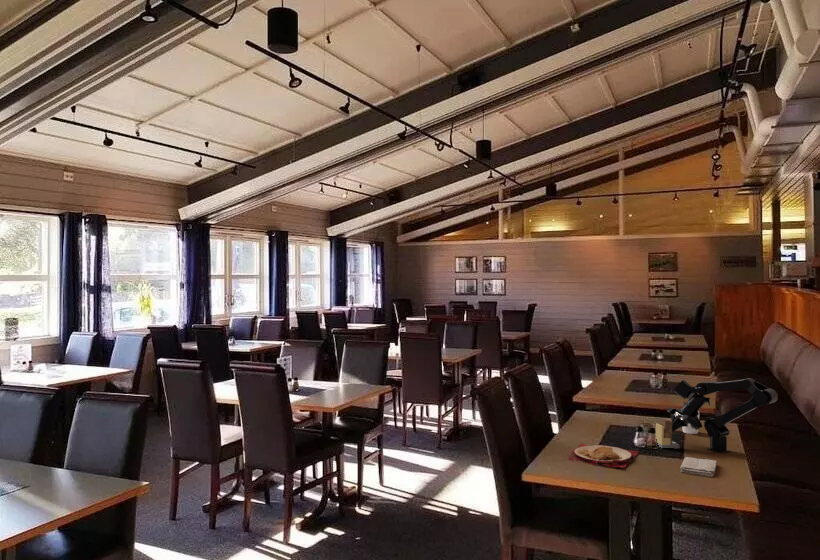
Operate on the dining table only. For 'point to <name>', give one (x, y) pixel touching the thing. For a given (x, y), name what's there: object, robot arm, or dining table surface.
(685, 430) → the white cup
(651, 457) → the dining table surface
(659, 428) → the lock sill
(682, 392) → the robot arm
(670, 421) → the block
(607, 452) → the plate with food
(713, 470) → the washcloth
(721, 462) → the dining table surface
